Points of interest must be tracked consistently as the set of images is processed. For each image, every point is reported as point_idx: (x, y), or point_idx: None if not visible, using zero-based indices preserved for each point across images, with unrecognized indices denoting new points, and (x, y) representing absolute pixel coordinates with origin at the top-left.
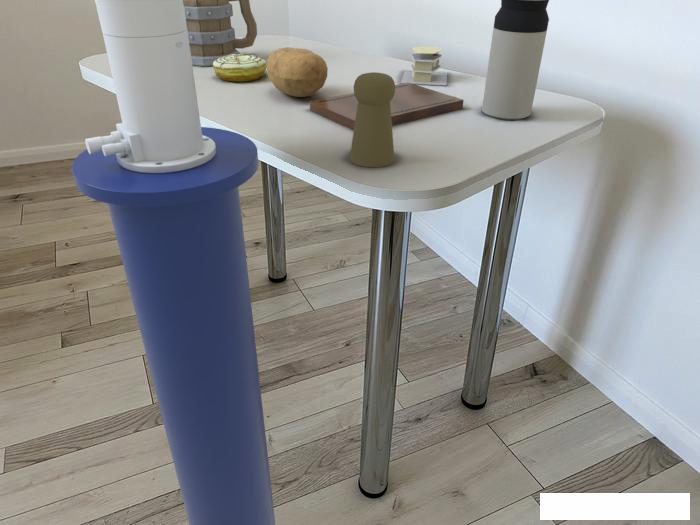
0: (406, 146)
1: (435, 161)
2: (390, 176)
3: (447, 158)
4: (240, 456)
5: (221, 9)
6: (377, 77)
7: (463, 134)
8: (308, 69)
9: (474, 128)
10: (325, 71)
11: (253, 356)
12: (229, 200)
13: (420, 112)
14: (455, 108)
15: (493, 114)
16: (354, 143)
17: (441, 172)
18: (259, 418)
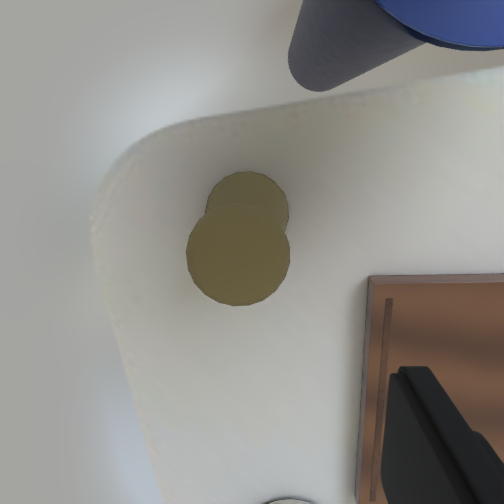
0: None
1: (179, 294)
2: (164, 191)
3: (179, 318)
4: (297, 31)
5: None
6: (210, 255)
7: (252, 410)
8: None
9: (264, 442)
10: None
11: (324, 47)
12: None
13: (363, 416)
14: (356, 483)
15: (283, 501)
16: (252, 182)
17: (136, 271)
18: (311, 59)
